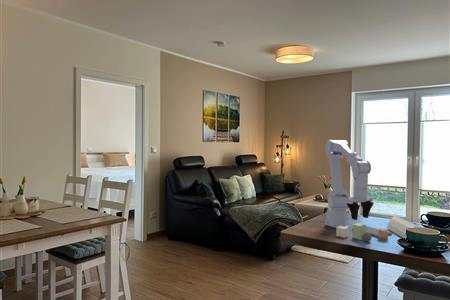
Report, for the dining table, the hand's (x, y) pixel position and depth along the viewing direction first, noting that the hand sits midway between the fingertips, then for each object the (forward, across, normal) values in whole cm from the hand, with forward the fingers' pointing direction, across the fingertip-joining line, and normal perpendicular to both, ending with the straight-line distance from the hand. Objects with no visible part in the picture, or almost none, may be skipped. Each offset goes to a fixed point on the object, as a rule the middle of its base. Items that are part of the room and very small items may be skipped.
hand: (359, 218), depth 144 cm
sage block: (+9, 0, 0) cm, 9 cm away
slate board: (+9, +13, +3) cm, 16 cm away
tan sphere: (+9, +8, -6) cm, 13 cm away
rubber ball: (+9, -2, -5) cm, 10 cm away
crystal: (+9, +23, -7) cm, 26 cm away
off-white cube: (+9, -4, +6) cm, 11 cm away
